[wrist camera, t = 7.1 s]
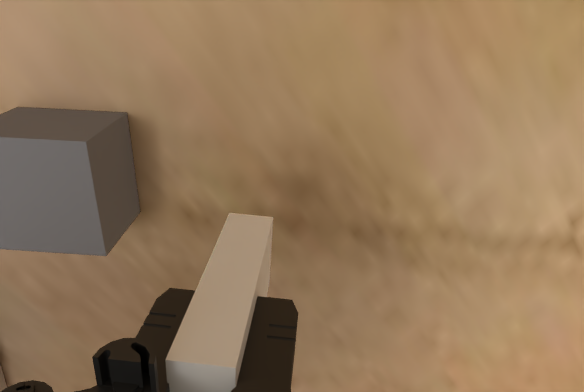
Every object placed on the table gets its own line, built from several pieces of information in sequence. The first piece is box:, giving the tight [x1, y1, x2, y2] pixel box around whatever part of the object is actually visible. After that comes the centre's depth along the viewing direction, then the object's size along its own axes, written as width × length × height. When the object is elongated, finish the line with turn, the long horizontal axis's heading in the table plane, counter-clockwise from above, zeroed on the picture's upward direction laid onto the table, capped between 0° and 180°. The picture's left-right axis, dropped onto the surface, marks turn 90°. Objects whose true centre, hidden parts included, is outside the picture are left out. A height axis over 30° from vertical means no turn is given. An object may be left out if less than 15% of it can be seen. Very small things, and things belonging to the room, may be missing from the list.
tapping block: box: [0, 107, 140, 256], centre depth 20 cm, size 5×5×4 cm
